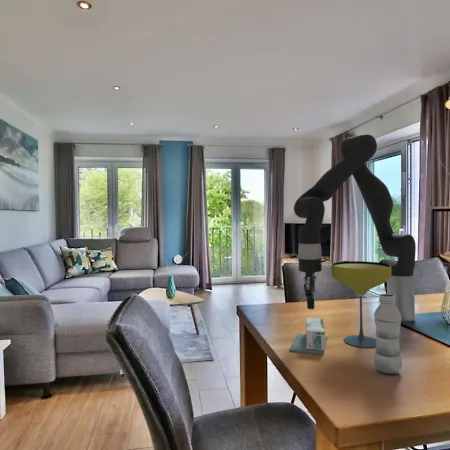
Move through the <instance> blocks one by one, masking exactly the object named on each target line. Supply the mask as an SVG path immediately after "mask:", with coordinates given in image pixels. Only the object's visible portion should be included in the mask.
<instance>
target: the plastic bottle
mask: <svg viewBox="0 0 450 450" xmlns="http://www.w3.org/2000/svg"><path fill="white" fill-rule="evenodd" d="M378 296H379V298H378V302H379V305H378V306H377V308H376V309H375V311H374V312H373V313H374V314H373V319H374V324H375V325H374V326H375V334H376V338H375V339H377V341H376V347H375V352H374V357H373V362H374V367H375V368H376V370H377V371H379V372H381V373H383V374H387V375H388V374H390V375H394V374H398V373H400V371H401V370H402V366H403V362H402V356H401V351H400V350H401V349H400V331H401V323H402V321H401V314H400V312H399V310H398V309H397V308H396V306H395V305H394V304H395V303H396V302H395V296H394V295H391V294H387V293H381V294H379V295H378Z"/></svg>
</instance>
